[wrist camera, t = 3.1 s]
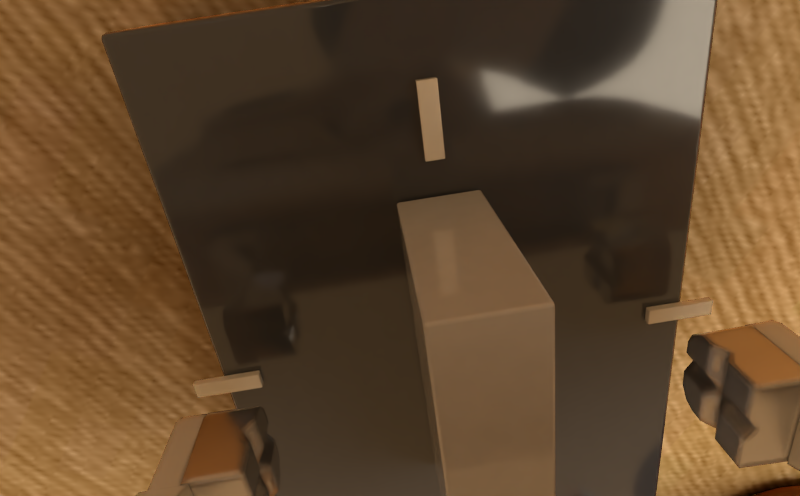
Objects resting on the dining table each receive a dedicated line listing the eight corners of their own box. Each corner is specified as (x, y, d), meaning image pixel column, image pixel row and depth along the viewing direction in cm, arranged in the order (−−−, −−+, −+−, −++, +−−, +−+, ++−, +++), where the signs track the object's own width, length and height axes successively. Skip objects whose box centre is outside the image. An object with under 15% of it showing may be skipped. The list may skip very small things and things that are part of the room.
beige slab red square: (396, 202, 10) (425, 337, 6) (480, 188, 10) (563, 314, 6) (435, 466, 13) (470, 665, 9) (499, 455, 13) (561, 650, 9)
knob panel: (131, 27, 11) (53, 41, 8) (663, -54, 11) (772, -69, 8) (287, 489, 17) (274, 588, 14) (625, 433, 17) (678, 520, 14)
